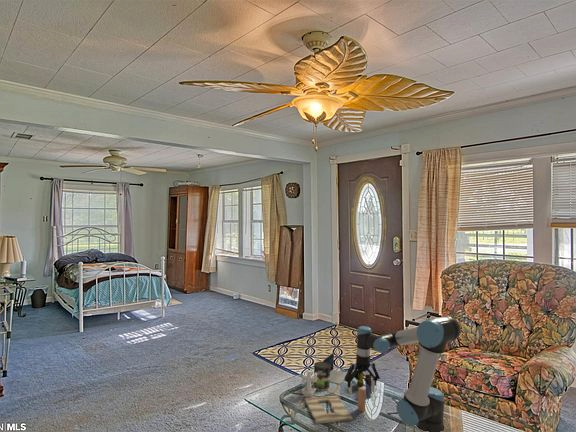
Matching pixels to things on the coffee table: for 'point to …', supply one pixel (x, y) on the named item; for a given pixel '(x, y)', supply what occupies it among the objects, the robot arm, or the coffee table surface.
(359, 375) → the doll family
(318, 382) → the green brown figure
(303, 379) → the figurine
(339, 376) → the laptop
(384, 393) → the coffee table surface
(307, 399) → the keyhole board
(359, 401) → the peg
